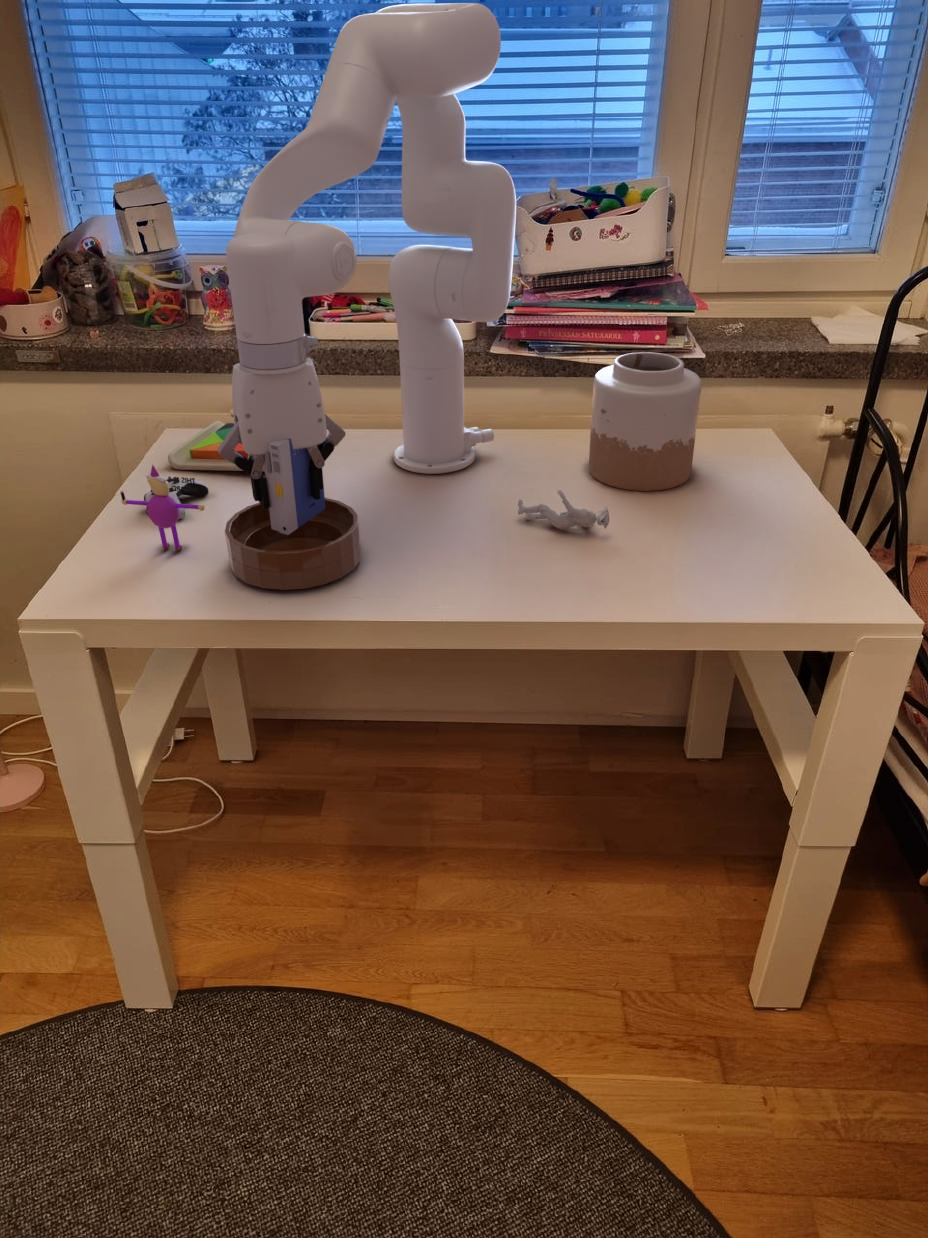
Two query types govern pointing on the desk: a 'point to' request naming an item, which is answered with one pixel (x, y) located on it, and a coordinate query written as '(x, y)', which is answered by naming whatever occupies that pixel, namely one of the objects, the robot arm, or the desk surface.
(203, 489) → the game controller
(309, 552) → the bowl
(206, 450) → the wooden puzzle
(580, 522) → the soldier figure
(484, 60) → the robot arm
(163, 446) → the desk surface
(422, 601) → the desk surface
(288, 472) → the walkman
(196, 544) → the desk surface
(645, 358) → the vase
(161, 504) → the wizard figurine
